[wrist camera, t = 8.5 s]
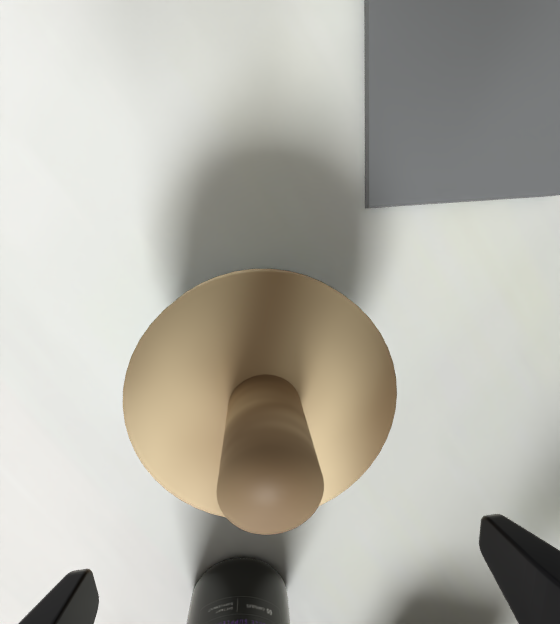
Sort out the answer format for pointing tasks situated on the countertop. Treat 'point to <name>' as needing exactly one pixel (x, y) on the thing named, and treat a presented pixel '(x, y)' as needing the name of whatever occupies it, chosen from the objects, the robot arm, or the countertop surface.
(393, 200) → the mat
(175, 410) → the lid
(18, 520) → the countertop surface
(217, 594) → the supplement bottle
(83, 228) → the countertop surface
